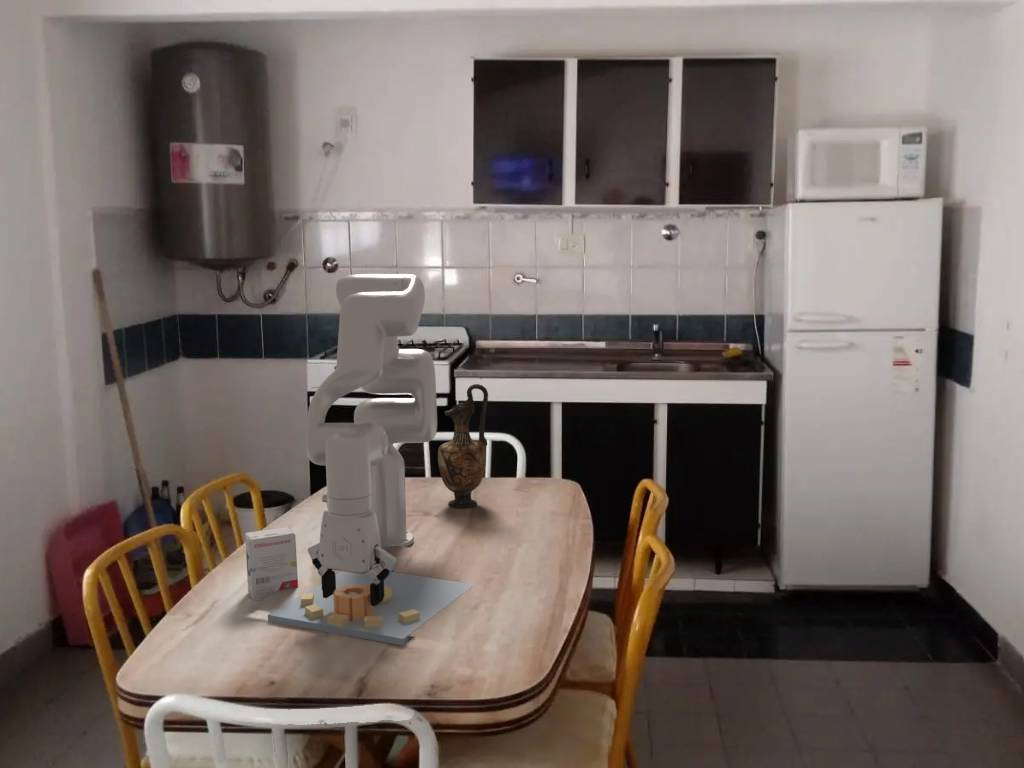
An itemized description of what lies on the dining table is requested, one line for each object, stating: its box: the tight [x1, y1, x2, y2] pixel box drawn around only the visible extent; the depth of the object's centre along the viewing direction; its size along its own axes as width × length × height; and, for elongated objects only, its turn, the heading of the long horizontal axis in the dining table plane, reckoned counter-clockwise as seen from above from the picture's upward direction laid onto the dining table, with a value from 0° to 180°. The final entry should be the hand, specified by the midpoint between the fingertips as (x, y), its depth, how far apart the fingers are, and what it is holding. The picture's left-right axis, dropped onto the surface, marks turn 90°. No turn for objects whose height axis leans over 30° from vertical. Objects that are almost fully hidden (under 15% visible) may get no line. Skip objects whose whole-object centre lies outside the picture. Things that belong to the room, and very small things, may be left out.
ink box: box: [244, 526, 299, 601], centre depth 187 cm, size 9×5×12 cm, turn 116°
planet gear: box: [334, 584, 374, 621], centre depth 174 cm, size 7×7×4 cm
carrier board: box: [267, 569, 475, 647], centre depth 181 cm, size 27×27×5 cm
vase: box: [437, 383, 489, 509], centre depth 243 cm, size 12×12×30 cm
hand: (353, 599), depth 174 cm, fingers open, 9 cm apart
